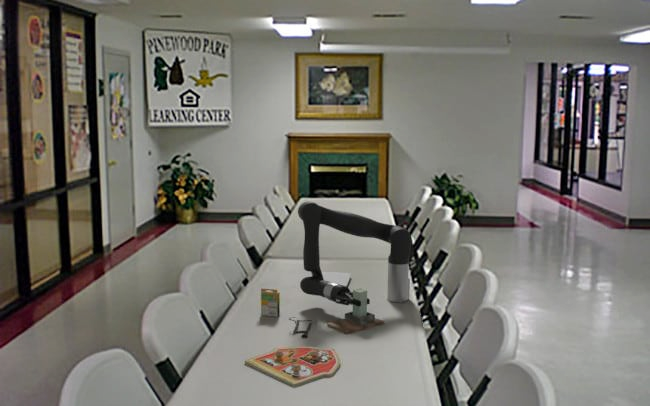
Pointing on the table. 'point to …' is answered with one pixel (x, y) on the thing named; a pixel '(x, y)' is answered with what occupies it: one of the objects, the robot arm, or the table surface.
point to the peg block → (361, 296)
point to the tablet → (337, 277)
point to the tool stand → (355, 323)
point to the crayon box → (270, 303)
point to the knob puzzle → (297, 364)
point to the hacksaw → (301, 331)
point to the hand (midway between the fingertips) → (364, 302)
